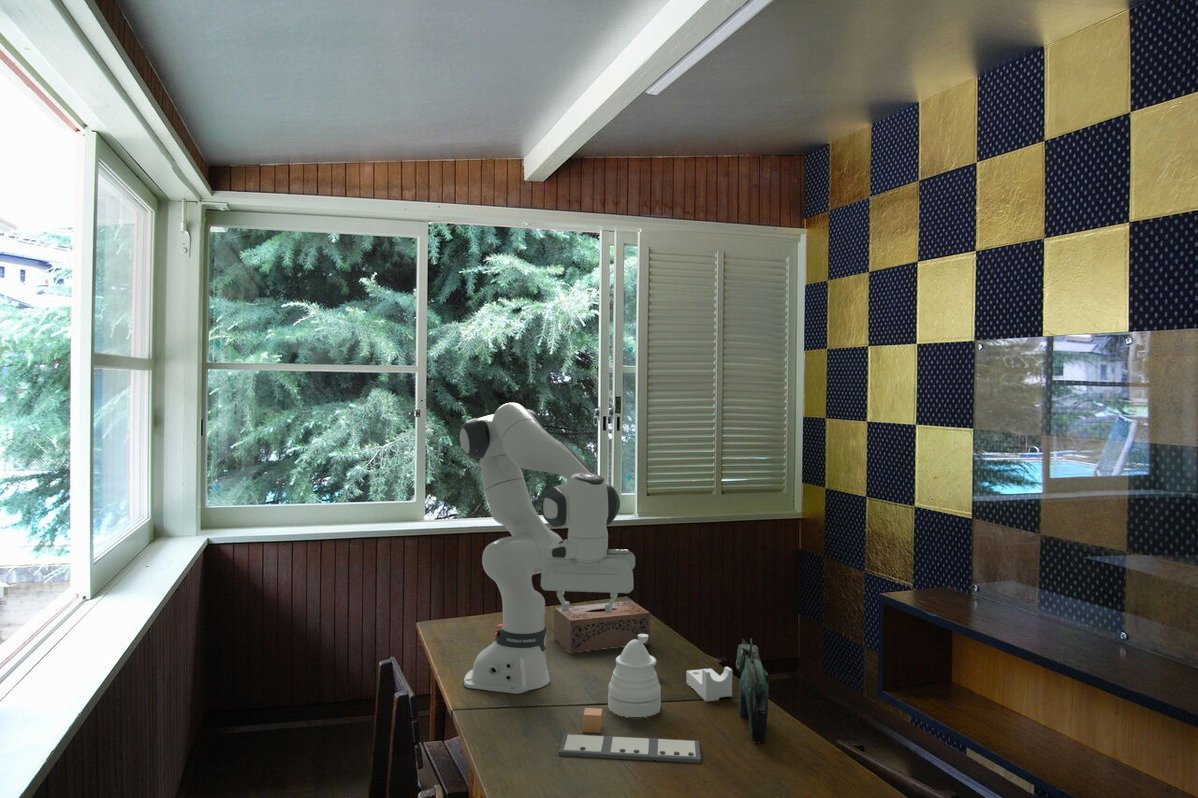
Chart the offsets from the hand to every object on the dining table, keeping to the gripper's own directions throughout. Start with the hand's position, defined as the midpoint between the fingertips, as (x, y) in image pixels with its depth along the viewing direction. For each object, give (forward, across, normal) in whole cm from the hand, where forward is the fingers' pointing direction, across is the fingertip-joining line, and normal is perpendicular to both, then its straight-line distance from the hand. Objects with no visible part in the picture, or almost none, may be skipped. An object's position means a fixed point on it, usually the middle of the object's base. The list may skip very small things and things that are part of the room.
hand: (586, 611), depth 180 cm
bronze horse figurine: (+30, -38, -14) cm, 50 cm away
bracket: (+30, -28, -36) cm, 55 cm away
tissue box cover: (+30, +2, -72) cm, 78 cm away
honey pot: (+30, -10, -22) cm, 38 cm away
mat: (+29, -10, +1) cm, 31 cm away
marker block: (+29, -1, -9) cm, 31 cm away
